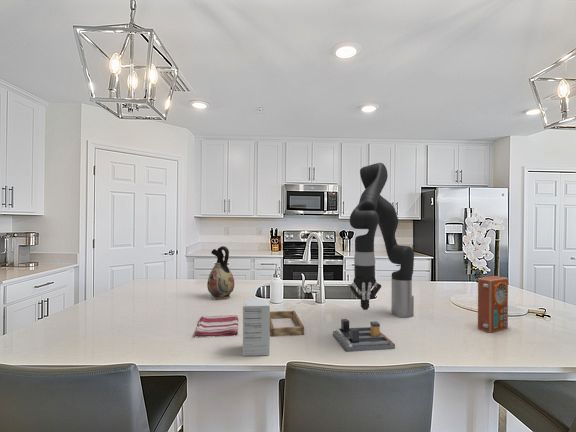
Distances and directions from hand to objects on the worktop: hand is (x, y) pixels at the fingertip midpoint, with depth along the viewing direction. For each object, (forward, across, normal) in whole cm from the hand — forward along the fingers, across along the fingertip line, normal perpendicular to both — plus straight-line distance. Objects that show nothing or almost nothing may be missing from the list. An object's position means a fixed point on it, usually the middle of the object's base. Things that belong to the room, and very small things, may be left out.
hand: (364, 309), depth 123 cm
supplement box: (+12, +41, +2) cm, 43 cm away
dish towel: (+12, +56, -25) cm, 62 cm away
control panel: (+13, -59, -6) cm, 61 cm away
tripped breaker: (+11, -4, 0) cm, 11 cm away
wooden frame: (+12, +28, -21) cm, 37 cm away
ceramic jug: (+12, +56, -74) cm, 94 cm away
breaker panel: (+12, +1, 0) cm, 12 cm away
